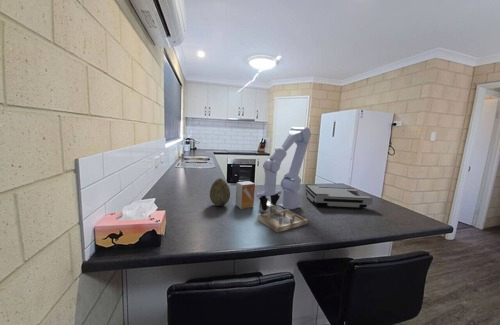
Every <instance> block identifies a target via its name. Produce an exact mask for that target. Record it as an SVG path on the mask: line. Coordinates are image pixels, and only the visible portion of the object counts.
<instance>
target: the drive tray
mask: <svg viewBox="0 0 500 325" xmlns="http://www.w3.org/2000/svg"><path fill="white" fill-rule="evenodd" d="M257 220H258V221H259V222H260V223H262V224H264V225H265V226H267V227H268V228H269V229H271V230H272V231H273V232H275V233H281V232H283V231H284V232H285V231H287V230H290V229H294V228H297V227H301V226H305V225H308V219H307V218H305V217H303V216H301V215H299V214H297V213H295V212H293V211H291V209H290V210H288V209H285V208H284V209H281V210H280V209H279V210H278V211H276V209H273V212H270V213H266V214H265V213H261V214H258V215H257Z"/></svg>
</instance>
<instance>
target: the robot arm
mask: <svg viewBox="0 0 500 325" xmlns="http://www.w3.org/2000/svg"><path fill="white" fill-rule="evenodd" d="M311 136H312V133H311V130H310V128H309V127H306V126H305V127H302V126H301V127H299V126H298V127H297V126H292V127H291V128H290V130H288V136H287V138H285V140H284V142H283V143H282V146H280V147H278V148H276V149H275V150H274V152H273V153H272V155H271V156H270V157H269V158H268V159H267V160H265V161H264V163H263V164H262V168H263V170H264V183H263V184H264V186H263V187H264V188H263V190H262V191H260V192H256V197H257V199H259V203H260V202H261V205H262V210H264V211H266V205H267V201H269V198H268V197H269V196H270V202H272V203H274V204H276V205H277V203H278V201H279V200H280V198H281V196H280V195H282V202H281V203H279V204H278V206H280V207H282V208H284V209H288V210H290V211H291V210H294V209H298V208H301V207H302V206H301V205H300V203H301V194H300V192H299V191H300V189H301V182H302V179H301V177H300V176H299V174H300V172H301V171H300V170H301V168H302V164H303V161H304V159H305V155H306V151H307V148H308V146H309V142H310V139H311ZM293 144H295V145H296V148H295V151H294V155H293V158H292V161H291V165H290V167H289V170H288V172H287V173H286V174H284V175H283V177H282V179H281V181H280V187H281V189H282V190H280V189H277V188H276V186H277V176H278V175H277V173H278V171H279V170H280V168H281V165H282V162H283V161H284V159H285V158H286V157H287V153H288V152H287V151H288V150H289V149H290V148H291V147H292V146H293Z"/></svg>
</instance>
